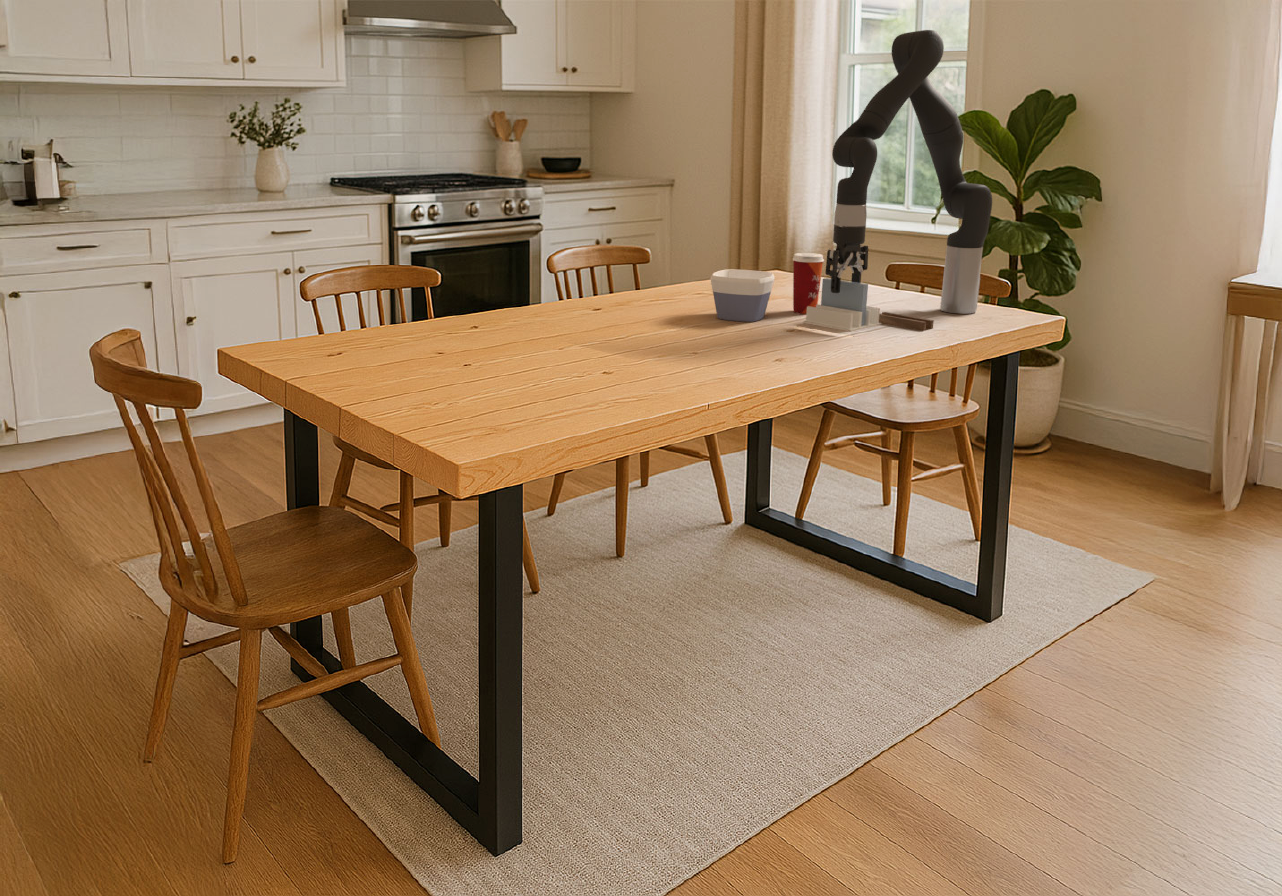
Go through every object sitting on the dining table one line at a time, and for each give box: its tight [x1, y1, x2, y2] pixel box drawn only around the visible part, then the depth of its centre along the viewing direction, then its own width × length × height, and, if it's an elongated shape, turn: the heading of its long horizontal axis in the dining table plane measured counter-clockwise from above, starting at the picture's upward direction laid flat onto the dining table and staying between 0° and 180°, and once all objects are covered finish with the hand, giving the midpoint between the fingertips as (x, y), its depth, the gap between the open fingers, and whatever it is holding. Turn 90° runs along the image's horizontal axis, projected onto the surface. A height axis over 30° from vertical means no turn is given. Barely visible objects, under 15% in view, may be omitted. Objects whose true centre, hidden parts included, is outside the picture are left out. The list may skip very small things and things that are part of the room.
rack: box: [802, 304, 882, 332], centre depth 267 cm, size 13×14×5 cm
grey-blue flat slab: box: [820, 277, 869, 326], centre depth 266 cm, size 2×12×10 cm, turn 45°
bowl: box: [709, 268, 776, 323], centre depth 275 cm, size 15×15×11 cm
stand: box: [879, 311, 935, 332], centre depth 267 cm, size 5×14×3 cm, turn 45°
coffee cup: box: [791, 252, 825, 315], centre depth 284 cm, size 8×8×15 cm
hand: (845, 290), depth 265 cm, fingers open, 8 cm apart
